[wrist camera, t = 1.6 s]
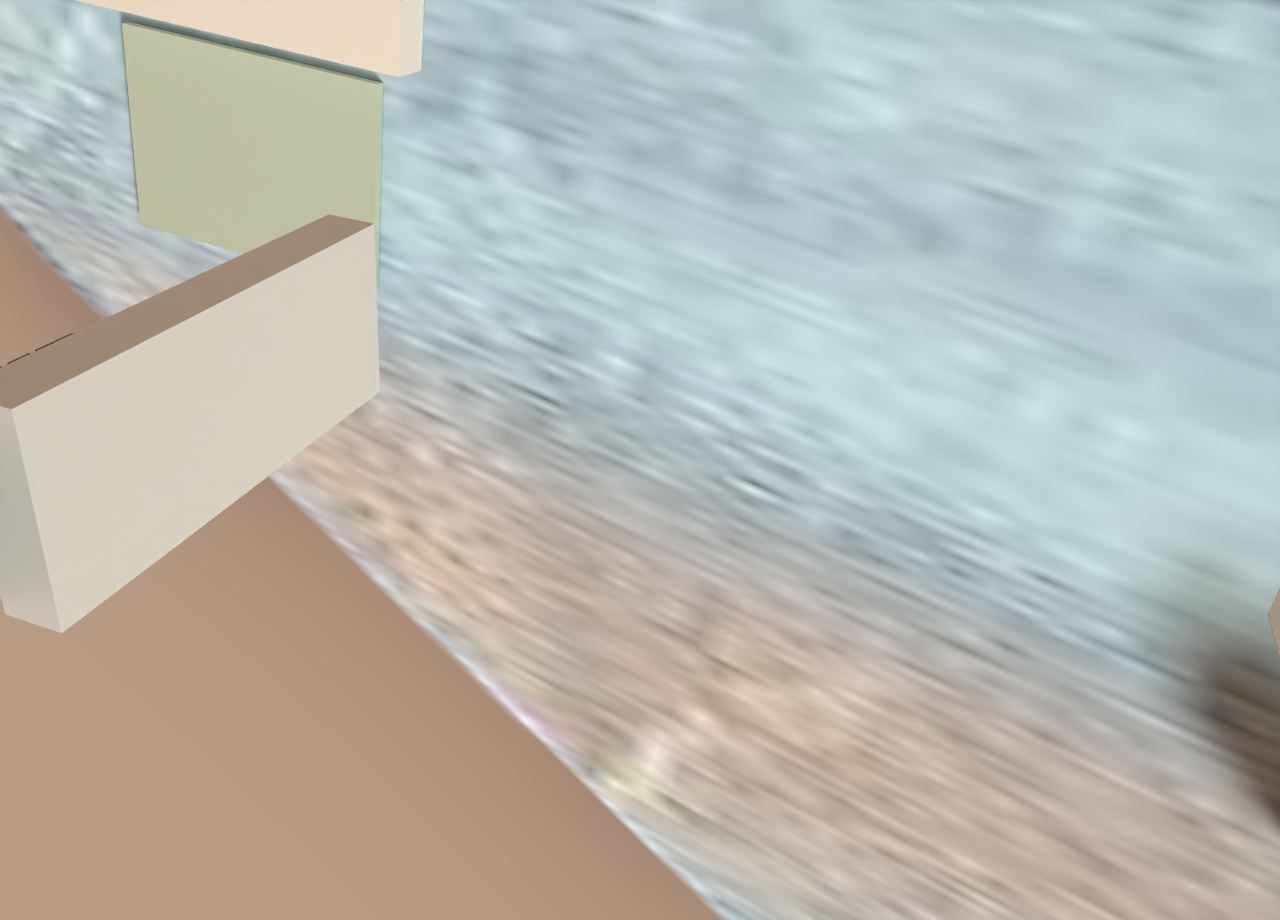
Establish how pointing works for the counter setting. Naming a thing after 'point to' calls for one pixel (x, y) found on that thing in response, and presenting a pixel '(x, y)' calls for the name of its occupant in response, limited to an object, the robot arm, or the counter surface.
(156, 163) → the mat
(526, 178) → the counter surface
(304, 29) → the bar
